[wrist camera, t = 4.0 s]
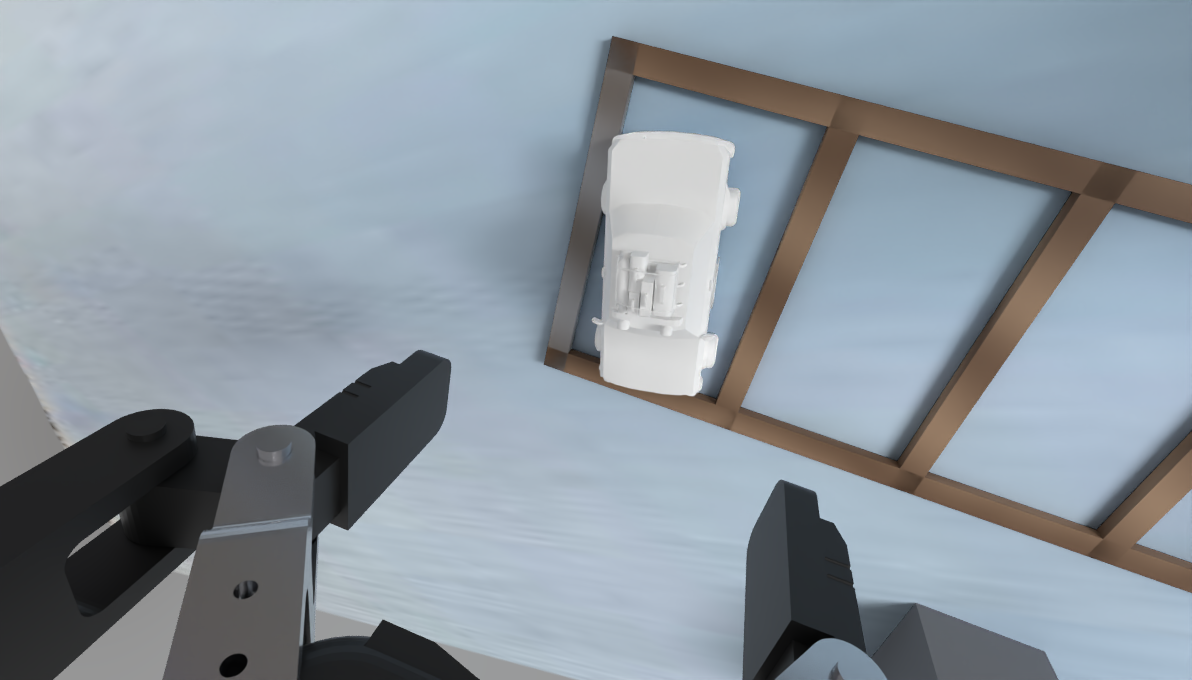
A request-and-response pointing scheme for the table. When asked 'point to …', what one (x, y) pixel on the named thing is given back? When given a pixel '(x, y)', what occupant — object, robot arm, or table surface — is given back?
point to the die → (956, 651)
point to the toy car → (662, 258)
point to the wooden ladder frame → (845, 122)
